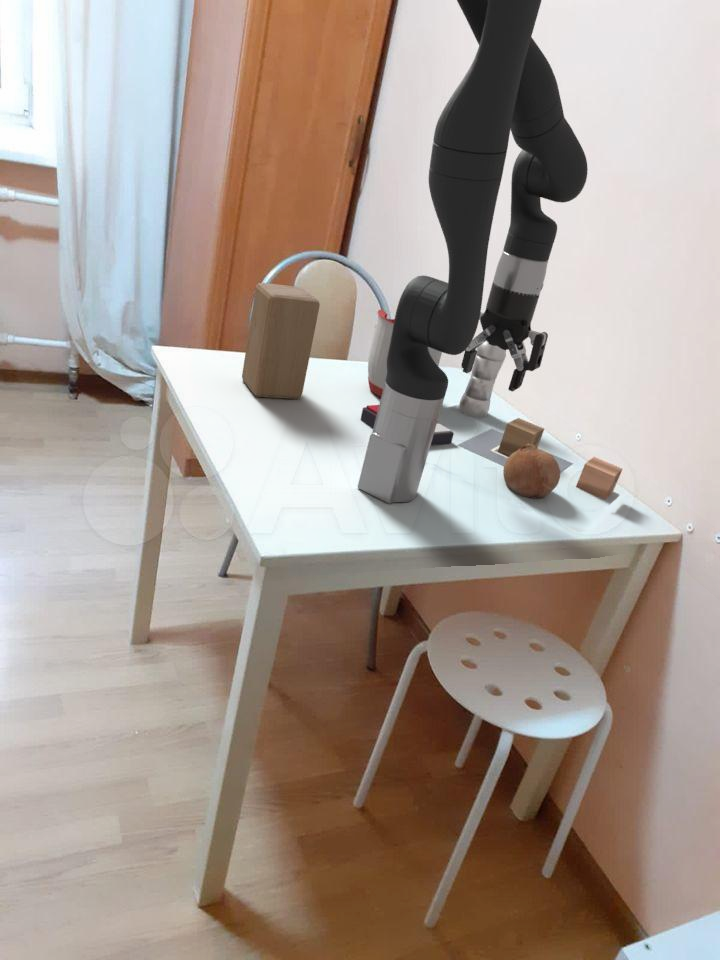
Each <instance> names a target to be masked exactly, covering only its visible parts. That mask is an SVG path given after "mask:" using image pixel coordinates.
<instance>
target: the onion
mask: <svg viewBox="0 0 720 960" xmlns="http://www.w3.org/2000/svg"><path fill="white" fill-rule="evenodd" d="M539 449H540V448H538V449H537V447H536V446H534V445H532V444H530V443H529V444H528V443H527V444H526V445H525V446H523V447H521V448H520V449H519V450H518V451H516V452H514V453H513V454H511V455H510V456H509V458H508V459H507V460H506V462H505V465H504V466H503V474H502V475H503V480H504V483H505V484H506V486H507V488H508V489H510V490H511V491H513V492H514V493H516V494H518V495H520V496H523V497H527V498H530V499H538V500H540V499H543V498H544V497H545V496H547V495H548V494H550V493H552V492H553V491H554V490H555V488H557V487H558V485H559V481H560V477H561V473H560V469H559V465H558V463H557V461H556V460H555V459H554V457H553V456H552V455H553V454H552V453H550V452H548V451H545V450H543V449H541V450H539ZM542 450H543V451H542ZM544 451H545V452H544ZM547 452H548V453H547ZM549 453H550V454H549ZM551 454H552V455H551Z"/></svg>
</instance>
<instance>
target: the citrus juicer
mask: <svg viewBox="0 0 720 960" xmlns="http://www.w3.org/2000/svg"><path fill="white" fill-rule="evenodd" d="M387 317H388V312H386V311H385V310H384V309H383V308H380V309H378V310H377V319H376V323H375V326H374V331H373V335H372V339H371V344H370V347H369V353H368V354H369V355H368V358H367V359H368V360H367V361H368V362H367V374H368V375H367V381H368V386H369V390H370V391H371V392H372V393H374V394H375V395H376V396H378V397H380V398H381V396H382V392H383V388H384V384H385V380H386V376H387V356H388V351H389V346H390V341H391V336H392V330H393V325H394V319H395V318H387ZM428 351H429V353H430V355H431V357H432V359H433V360H434V362H435V363H436V364H437V365H438V366H439V364H440V360H441V358H442V354H443V352H440V351H438V350H435V349H433V348H430V347H428Z"/></svg>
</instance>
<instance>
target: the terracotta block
mask: <svg viewBox="0 0 720 960" xmlns="http://www.w3.org/2000/svg"><path fill="white" fill-rule="evenodd" d="M622 472H623V468H621V467H620V466H617V465H614V464H612V463H611V462H608V461H605V460H603V459H600V458H598V457H596V456H593V457H592V458H590V459H589V460H588V461H587V462H585V463H584V465H583V468H582V470H581V473H580V475H579V478H578V481H577V483H576V485H575V487H576V488H578V489H580V490H582V491H585V492H586V493H589V494H591V495H593V496H596V497H597V498H600V499H602V500H605V501H606V499H607V498H608V497H610V496H611V494H612V493H613V492H614V490H615V487H616V486H617V483H618V480H619V479H620V477H621V474H622Z"/></svg>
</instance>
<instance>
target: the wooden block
mask: <svg viewBox="0 0 720 960" xmlns="http://www.w3.org/2000/svg"><path fill="white" fill-rule="evenodd" d="M253 297H254V298H253V304H252V310H251V316H250V321H249V323H250V324H249V328H248V335H247V341H246V348H245V355H244V359H243V367H242V373H241V377H242V381H243V382H244V383H245V385H246V386H247V387H248V388H249V390H250V391H251V393H252V394H253V395H254V396H255V397H257V398H272V399H274V398H276V399H294V400H295V399H296V400H299V399H301V398H302V396H303V392H304V387H305V381H306V376H307V372H308V368H309V367H308V366H309V362H310V357H311V352H312V351H311V350H312V347H313V341H314V336H315V331H316V325H317V322H318V321H317V320H318V315H319V311H320V305H321V304H320V301H319V300H318V299H316V298H315V296H313V295H311V294H310V293H309V292H308V291H306V289H304V288H303V287H301V286H300V287H299V286H291V285H284V284H278V283H277V284H276V283H267V282H259V283H257V284H256V286H255V290H254V296H253Z"/></svg>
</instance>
